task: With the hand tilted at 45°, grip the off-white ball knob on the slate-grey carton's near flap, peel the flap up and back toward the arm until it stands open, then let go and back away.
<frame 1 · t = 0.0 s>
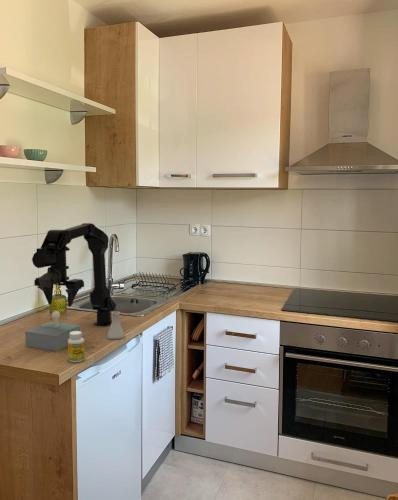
hand: (59, 305, 169), 15 cm above the worktop, tool pointing down, fingers open, 9 cm apart
supplement bottle: (76, 360, 155), on the worktop
near flap: (59, 318, 174), point 8 cm above the worktop, hinge at 0.0°
carton: (53, 342, 172), on the worktop
flask: (116, 337, 179), on the worktop
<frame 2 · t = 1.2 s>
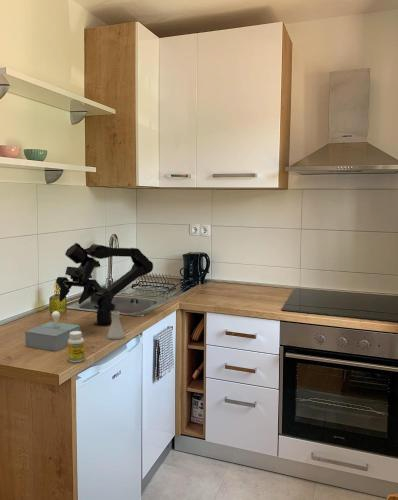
hand: (69, 302, 179), 13 cm above the worktop, tool tilted 45°, fingers open, 9 cm apart
nothing on the worktop moved.
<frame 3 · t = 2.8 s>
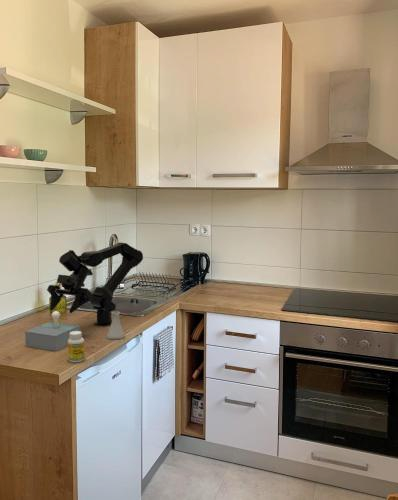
hand: (60, 311, 175), 11 cm above the worktop, tool tilted 45°, fingers open, 9 cm apart
nothing on the worktop moved.
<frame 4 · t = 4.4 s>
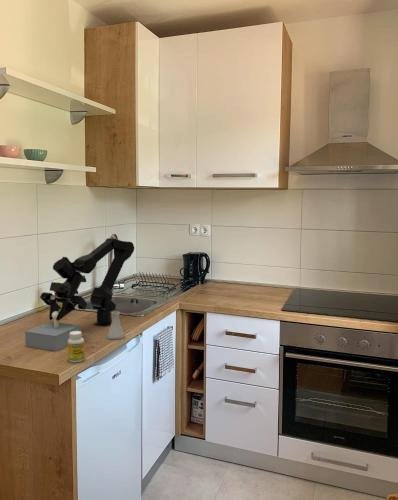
hand: (53, 319, 171), 9 cm above the worktop, tool tilted 45°, fingers closed on near flap, 3 cm apart
near flap: (59, 318, 174), point 8 cm above the worktop, hinge at 0.0°, touching gripper
everything else where it was.
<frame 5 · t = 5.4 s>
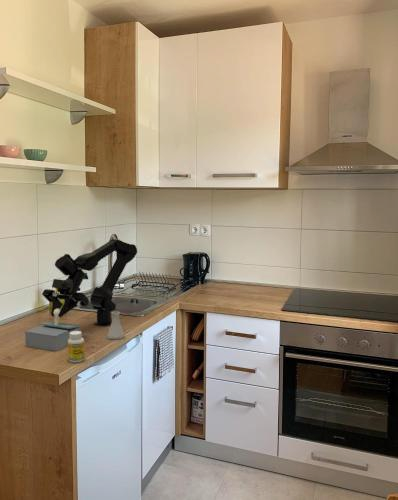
hand: (55, 316, 172), 10 cm above the worktop, tool tilted 45°, fingers closed on near flap, 3 cm apart
near flap: (60, 317, 175), point 9 cm above the worktop, hinge at 9.8°, touching gripper
everything else where it was.
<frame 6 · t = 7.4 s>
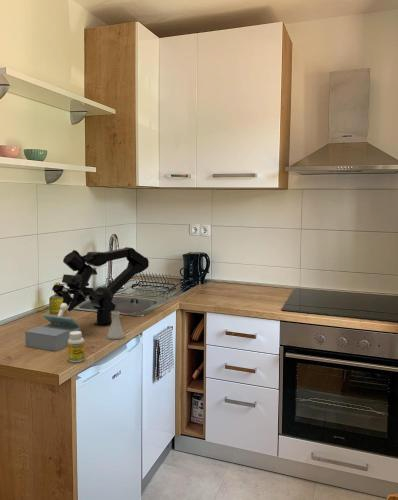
hand: (65, 310, 177), 11 cm above the worktop, tool tilted 45°, fingers closed
near flap: (64, 313, 177), point 10 cm above the worktop, hinge at 40.5°
everything else where it was.
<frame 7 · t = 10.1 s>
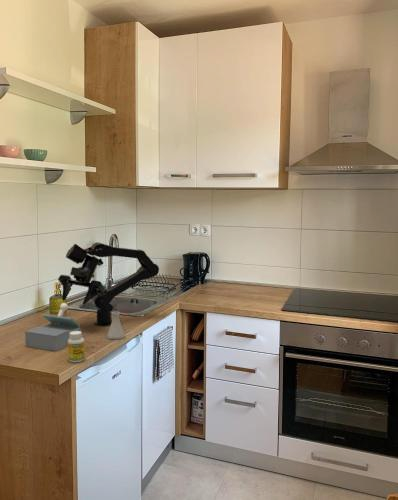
hand: (73, 302, 182), 13 cm above the worktop, tool tilted 40°, fingers open, 9 cm apart
nothing on the worktop moved.
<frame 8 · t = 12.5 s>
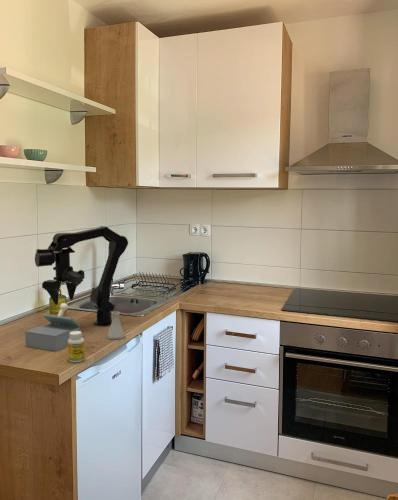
hand: (64, 302, 185), 12 cm above the worktop, tool pointing down, fingers open, 9 cm apart
nothing on the worktop moved.
at the end: near flap at +40° (first picture: +0°); the gripper is holding nothing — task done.
